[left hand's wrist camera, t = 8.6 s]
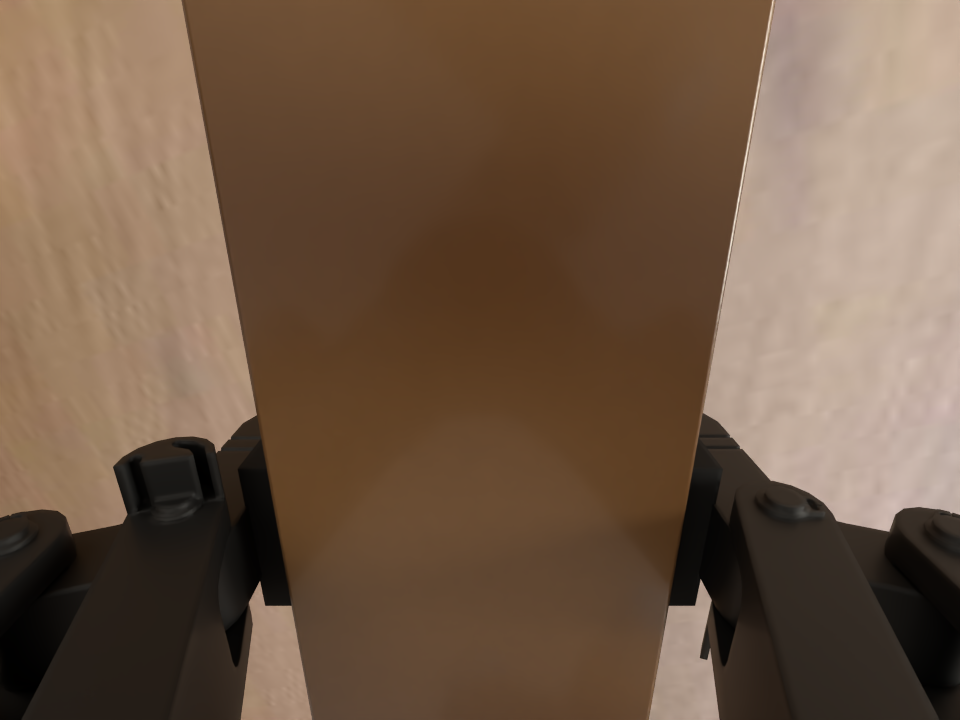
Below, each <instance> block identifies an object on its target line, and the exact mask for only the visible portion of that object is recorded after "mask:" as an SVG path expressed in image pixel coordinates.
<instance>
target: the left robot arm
mask: <svg viewBox="0 0 960 720" xmlns="http://www.w3.org/2000/svg"><path fill="white" fill-rule="evenodd" d="M113 468H114V472H115V475H116V478H117V481H118V485H119V488H120V491H121V494H122V498H123V501H124V504H125V507H126V511H127V514H128V515H127V517H126V519H125V520H124V522H123V524H120V525H116V526H111V527H106V528H101V529H96V530H91V531H85V532H80V533H75V534H72V533H71V530H70V527H69V525H68V522H67V519H66V517H65V516H64V515H62V514H61V513H60V512H58V511H52V510H35V511H28V512H19V513H15V514H12V515H11V516H9V515H8V516H5V517H2V518H0V720H241V712H242V704H243V696H244V688H245V681H246V673H247V665H248V657H249V649H250V642H251V634H252V626H253V623H252V616H251V611H250V606H249V601H250V599H251V597H252V595H253V593H254V591H255V589H256V587H257V585H258V583H259V582H261V587H262V592H263V597H264V602H265V606H292V605H291V599H290V594H289V588H288V583H287V577H286V572H285V566H284V561H283V555H282V550H281V544H280V539H279V533H278V528H277V522H276V517H275V511H274V506H273V500H272V495H271V489H270V484H269V478H268V473H267V467H266V462H265V456H264V451H263V445H262V440H261V434H260V429H259V423H258V418H257V416H255V417H253V418H252V419H250V420H248V421H246V422H245V423H243V424H242V425H241V426H240V427H239V429H238V430H237V431H236V432H235V433H234V434H233V435H232V436H231V440H228V441H227V442H226V443H225V444H224V445H223V447H222V448H221V451H218V452H217V453H216V451H215V447H214V444H213V443H211V442H210V441H208V440H207V439H204V438H198V437H175V438H171V439H166V440H161V441H157V442H154V443H151V444H148V445H146V446H143V447H140V448H138V449H136V450H134V451H133V452H131V453H129V454H127V455H126V456H124V457H122V458H121V459H120V460H119V461H118V462H117V463H116V464H115V465H114V466H113ZM700 579H701V580H702V582H703V584H704V586H705V588H706V590H707V592H708V593H709V595H710V597H711V599H712V602H711V606H710V611H709V615H708V620H707V624H706V629H705V633H704V638H703V643H702V647H701V654H700V658H702V659H706V660H707V658H708V654H709V649H710V648H711V656H712V664H713V671H714V679H715V687H716V695H717V702H718V710H719V718H720V720H960V515H958V514H955V513H952V514H951V513H950V512H948V511H944V510H939V509H937V510H936V509H929V508H921V507H916V508H906V509H903V510H901V511H900V512H898V513H897V514H896V515H895V518H894V520H893V523H892V526H891V529H890V531H889V532H887V531H882V530H877V529H872V528H867V527H861V526H856V525H851V524H846V523H842V522H838V521H836V519H835V518H834V516H833V514H832V513H831V511H830V510H829V509H828V508H827V507H826V505H825V504H824V503H823V502H821V501H820V500H818V499H817V498H815V497H814V496H813V495H811V494H810V493H808V492H805V491H803V490H801V489H798V488H796V487H794V486H791V485H787V484H783V483H779V482H775V481H770V480H769V478H768V477H767V476H766V475H765V474H764V473H763V472H762V471H761V469H760V468H759V467H758V466H757V465H756V464H755V463H754V462H753V461H752V459H751V458H750V457H749V456H748V455H747V454H746V453H745V452H744V450H743V449H740V446H739V445H738V444H737V443H736V442H735V440H734V439H733V438H730V435H729V434H728V433H727V431H726V430H725V429H724V428H723V427H722V426H721V425H720V424H719V423H718V422H717V421H716V420H714V419H712V418H710V417H709V416H707V415H705V414H704V413H703V414H702V420H701V425H700V431H699V437H698V442H697V448H696V454H695V459H694V465H693V471H692V476H691V482H690V488H689V493H688V499H687V505H686V510H685V516H684V522H683V527H682V533H681V539H680V544H679V550H678V556H677V561H676V567H675V573H674V578H673V584H672V589H671V595H670V601H669V606H695V603H696V599H697V594H698V589H699V584H700Z"/></svg>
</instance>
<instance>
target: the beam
mask: <svg viewBox="0 0 960 720" xmlns="http://www.w3.org/2000/svg"><path fill="white" fill-rule="evenodd" d="M775 1H776V0H182V5H183V11H184V16H185V22H186V27H187V33H188V38H189V44H190V49H191V55H192V60H193V66H194V71H195V77H196V82H197V88H198V93H199V99H200V104H201V110H202V115H203V121H204V126H205V132H206V137H207V143H208V148H209V154H210V159H211V165H212V170H213V176H214V181H215V187H216V192H217V198H218V203H219V209H220V214H221V220H222V225H223V231H224V236H225V242H226V247H227V253H228V258H229V264H230V269H231V275H232V280H233V286H234V291H235V297H236V302H237V308H238V313H239V319H240V324H241V330H242V335H243V341H244V346H245V352H246V357H247V363H248V368H249V374H250V379H251V385H252V390H253V396H254V401H255V407H256V412H257V418H258V423H259V429H260V434H261V440H262V445H263V451H264V456H265V462H266V467H267V473H268V478H269V484H270V489H271V495H272V500H273V506H274V511H275V517H276V522H277V528H278V533H279V539H280V544H281V550H282V555H283V561H284V566H285V572H286V577H287V583H288V588H289V594H290V599H291V605H292V610H293V616H294V621H295V627H296V632H297V638H298V643H299V649H300V654H301V660H302V665H303V671H304V676H305V682H306V687H307V693H308V698H309V704H310V709H311V715H312V720H649V714H650V708H651V703H652V697H653V691H654V686H655V680H656V674H657V669H658V663H659V657H660V652H661V646H662V640H663V635H664V629H665V623H666V618H667V612H668V606H669V601H670V595H671V589H672V584H673V578H674V573H675V567H676V561H677V556H678V550H679V544H680V539H681V533H682V527H683V522H684V516H685V510H686V505H687V499H688V493H689V488H690V482H691V476H692V471H693V465H694V459H695V454H696V448H697V442H698V437H699V431H700V425H701V420H702V414H703V408H704V403H705V397H706V391H707V386H708V380H709V375H710V369H711V363H712V358H713V352H714V346H715V341H716V335H717V329H718V324H719V318H720V312H721V307H722V301H723V295H724V290H725V284H726V278H727V273H728V267H729V261H730V256H731V250H732V244H733V239H734V233H735V227H736V222H737V216H738V210H739V205H740V199H741V194H742V188H743V182H744V177H745V171H746V165H747V160H748V154H749V148H750V143H751V137H752V131H753V126H754V120H755V114H756V109H757V103H758V97H759V92H760V86H761V80H762V75H763V69H764V63H765V58H766V52H767V46H768V41H769V35H770V29H771V24H772V18H773V12H774V7H775Z"/></svg>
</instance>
